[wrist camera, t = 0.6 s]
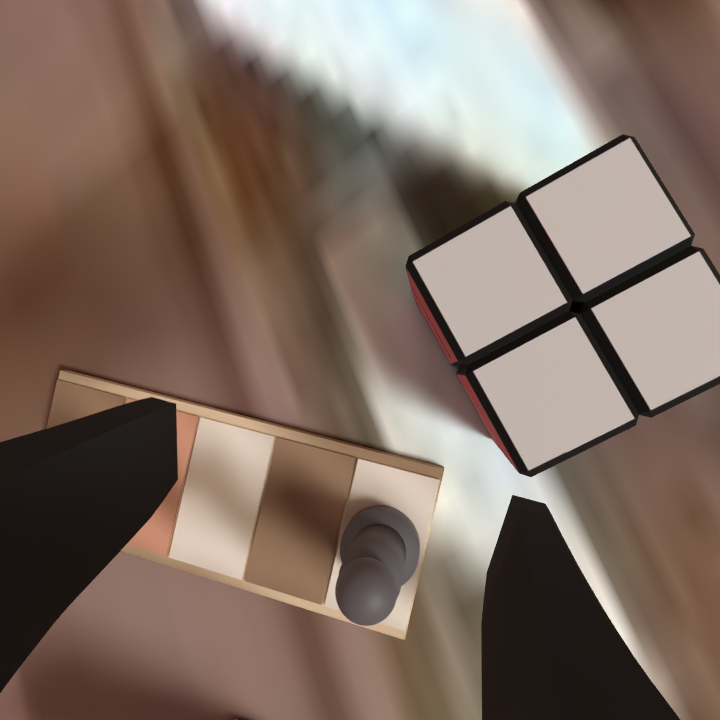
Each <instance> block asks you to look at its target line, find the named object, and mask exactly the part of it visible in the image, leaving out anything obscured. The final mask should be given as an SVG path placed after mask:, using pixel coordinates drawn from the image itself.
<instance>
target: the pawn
mask: <svg viewBox="0 0 720 720" xmlns="http://www.w3.org/2000/svg"><path fill="white" fill-rule="evenodd" d="M419 553H420V540H419V536H418V532H417V530H416V528H415V526H414V524H413V523H412V521H411V520H410V519H409V518H408V517H407V516H406V515H405V514H404V513H402V512H401V511H399V510H397V509H395V508H393V507H389V506H384V505H376V506H370V507H367V508H365V509H363V510H361V511H359V512H358V513H357V514H356V515H355V516H354V517H353V518H352V519H351V520H350V522H349V523H348V525H347V527H346V528H345V530H344V532H343V534H342V537H341V541H340V557H341V561H342V565H341V567H340V570H339V575H338V578H337V582H336V586H335V597H336V601H337V604H338V607H339V609H340V611H341V612H342V614H343V615H344V616H345V617H346V618H347V619H348V620H350V621H351V622H353V623H355V624H358V625H362V626H371V625H375V624H378V623H380V622H381V621H383V620H384V619H386V618H387V617H388V616H389V614H390V613H391V612H392V610H393V608H394V606H395V603H396V600H397V598H398V596H399V593H400V590H401V586H402V585H404V584H405V583H406V582H407V581H408V580H409V579H410V578H411V577H412V575H413V574H414V572H415V570H416V568H417V565H418V561H419Z"/></svg>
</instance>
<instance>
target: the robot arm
mask: <svg viewBox="0 0 720 720" xmlns="http://www.w3.org/2000/svg"><path fill="white" fill-rule="evenodd" d="M177 480H178V457H177V416H176V403H172V402H168V401H165V400H161V399H157V398H153V397H149V398H145V399H141V400H137V401H133V402H130V403H126V404H123V405H120V406H116V407H113V408H110V409H107V410H104V411H101V412H98V413H95V414H91V415H88V416H85V417H82V418H79V419H76V420H73V421H70V422H67V423H63V424H60V425H57V426H54V427H51V428H48V429H45V430H41V431H38V432H34V433H31V434H27V435H24V436H20V437H17V438H14V439H10V440H7V441H3V442H0V693H1V691H2V690H3V689H4V687H5V686H6V684H7V683H8V682H9V680H10V679H11V678H12V676H13V675H14V674H15V672H16V671H17V670H18V668H19V667H20V666H21V664H22V663H23V662H24V661H25V659H26V658H27V657H28V656H29V654H30V653H31V652H32V650H33V649H34V648H35V647H36V645H37V644H38V643H39V641H40V640H41V639H42V638H43V636H44V635H45V634H46V632H47V631H48V630H49V629H50V627H51V626H52V625H53V624H54V622H55V621H56V620H57V619H58V618H59V617H60V615H61V614H62V613H63V612H64V611H65V610H66V609H67V607H68V606H69V605H70V604H71V603H72V602H73V601H74V600H75V599H76V597H77V596H78V595H79V594H80V593H81V592H82V591H83V590H84V589H85V588H86V587H87V586H88V585H89V584H90V583H91V582H92V580H93V579H94V578H95V577H96V576H97V575H98V574H99V573H100V572H101V571H102V570H103V569H104V568H105V567H106V566H107V565H108V563H109V562H110V561H111V560H112V559H113V558H114V557H115V556H116V555H117V554H118V553H119V552H120V551H121V550H122V549H123V548H124V546H125V545H126V544H127V543H128V542H129V541H130V540H131V539H132V538H133V537H134V536H135V535H136V533H137V532H138V531H139V530H140V529H141V528H142V527H143V526H144V525H145V524H146V523H147V521H148V520H149V519H150V518H151V517H152V515H153V514H154V513H155V511H156V510H157V509H158V507H159V506H160V505H161V503H162V502H163V501H164V499H165V498H166V496H167V495H168V493H169V492H170V490H171V489H172V488H173V486H174V485H175V483H176V482H177ZM236 720H237V719H236ZM482 720H680V719H679V717H678V716H677V715H676V713H675V712H674V711H673V709H672V708H671V707H670V705H669V704H668V703H667V701H666V700H665V699H664V697H663V696H662V695H661V693H660V692H659V691H658V689H657V688H656V687H655V686H654V684H653V683H652V682H651V680H650V679H649V677H648V676H647V675H646V673H645V672H644V670H643V669H642V668H641V666H640V665H639V663H638V662H637V660H636V659H635V657H634V656H633V655H632V653H631V651H630V650H629V648H628V647H627V645H626V644H625V642H624V641H623V639H622V638H621V636H620V635H619V633H618V632H617V630H616V628H615V627H614V625H613V624H612V622H611V620H610V619H609V617H608V616H607V614H606V612H605V611H604V609H603V608H602V606H601V604H600V602H599V601H598V599H597V597H596V596H595V594H594V592H593V590H592V589H591V587H590V585H589V584H588V582H587V580H586V579H585V577H584V575H583V573H582V571H581V570H580V568H579V566H578V564H577V562H576V561H575V559H574V557H573V555H572V553H571V551H570V549H569V548H568V546H567V544H566V542H565V540H564V538H563V536H562V534H561V532H560V530H559V528H558V526H557V524H556V522H555V520H554V519H553V517H552V515H551V513H550V511H549V509H548V507H547V506H546V504H544V503H540V502H537V501H533V500H529V499H525V498H522V497H518V496H514V495H512V498H511V501H510V504H509V507H508V510H507V513H506V516H505V519H504V522H503V525H502V528H501V531H500V534H499V538H498V541H497V544H496V547H495V550H494V553H493V556H492V559H491V562H490V565H489V568H488V571H487V576H486V585H485V594H484V604H483V614H482Z"/></svg>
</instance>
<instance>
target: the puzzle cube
mask: <svg viewBox="0 0 720 720" xmlns="http://www.w3.org/2000/svg"><path fill="white" fill-rule="evenodd" d="M694 235H695V234H694V232H693V231H692V229H691V227H690V226H689V224H688V223H687V221H686V219H685V218H684V216H683V214H682V213H681V211H680V210H679V208H678V206H677V205H676V203H675V202H674V200H673V198H672V197H671V195H670V193H669V192H668V190H667V189H666V187H665V185H664V184H663V182H662V181H661V179H660V177H659V176H658V174H657V173H656V171H655V169H654V168H653V166H652V164H651V163H650V161H649V160H648V158H647V156H646V155H645V153H644V152H643V150H642V148H641V147H640V145H639V144H638V142H637V140H636V139H635V137H632V136H627V135H621V136H619V137H617V138H615V139H614V140H612V141H610V142H608V143H607V144H605V145H603V146H601V147H600V148H598V149H596V150H594V151H593V152H591V153H589V154H587V155H586V156H584V157H582V158H580V159H579V160H577V161H575V162H573V163H572V164H570V165H568V166H566V167H565V168H563V169H561V170H559V171H558V172H556V173H554V174H552V175H551V176H549V177H547V178H545V179H543V180H542V181H540V182H538V183H536V184H535V185H533V186H531V187H529V188H528V189H526V190H524V191H522V192H521V193H520V194H519V196H518V198H517V200H516V202H515V204H514V203H510V202H506V201H505V202H503V203H502V204H500V205H498V206H496V207H495V208H493V209H491V210H489V211H488V212H486V213H484V214H482V215H481V216H479V217H477V218H475V219H474V220H472V221H470V222H468V223H466V224H465V225H463V226H461V227H459V228H458V229H456V230H454V231H452V232H451V233H449V234H447V235H445V236H444V237H442V238H440V239H438V240H437V241H435V242H433V243H431V244H430V245H428V246H426V247H424V248H423V249H421V250H419V251H417V252H416V253H414V254H412V255H410V256H409V257H408V261H407V264H406V270H407V274H408V277H409V281H410V285H411V289H412V292H413V295H414V299H415V301H416V303H417V305H418V306H419V308H420V310H421V312H422V314H423V315H424V317H425V319H426V321H427V323H428V324H429V326H430V328H431V330H432V331H433V333H434V335H435V337H436V339H437V340H438V342H439V344H440V346H441V348H442V349H443V351H444V353H445V355H446V357H447V358H448V360H449V362H450V364H451V365H454V366H458V370H457V373H456V375H457V376H458V378H459V380H460V382H461V384H462V385H463V387H464V389H465V391H466V393H467V394H468V396H469V398H470V400H471V402H472V403H473V405H474V407H475V409H476V411H477V412H478V414H479V416H480V418H481V419H482V421H483V423H484V425H485V427H486V428H487V430H488V432H489V434H490V436H491V437H492V439H493V441H494V442H495V443H496V445H497V446H498V447H499V448H500V450H501V451H502V452H503V453H504V455H505V456H506V457H507V459H508V460H509V461H510V462H511V464H512V465H513V466H514V467H515V469H516V470H517V471H518V472H519V473H520V474H523V475H526V476H529V477H532V476H534V475H536V474H538V473H540V472H542V471H544V470H546V469H548V468H550V467H552V466H554V465H556V464H559V463H561V462H563V461H565V460H567V459H569V458H571V457H573V456H575V455H577V454H579V453H581V452H583V451H585V450H587V449H589V448H591V447H593V446H595V445H597V444H599V443H601V442H603V441H605V440H607V439H609V438H611V437H613V436H615V435H617V434H619V433H621V432H623V431H625V430H627V429H629V428H631V427H633V426H635V425H636V423H637V419H638V416H639V415H642V416H647V417H653V416H655V415H658V414H660V413H662V412H664V411H666V410H668V409H670V408H672V407H674V406H676V405H678V404H680V403H682V402H684V401H686V400H688V399H690V398H692V397H694V396H696V395H698V394H700V393H702V392H704V391H706V390H708V389H710V388H712V387H714V386H716V385H718V384H720V275H719V273H718V272H717V270H716V268H715V267H714V265H713V264H712V262H711V260H710V259H709V257H708V255H707V254H706V252H705V251H704V249H702V248H698V247H694V246H691V245H692V241H693V238H694Z"/></svg>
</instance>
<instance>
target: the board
mask: <svg viewBox="0 0 720 720" xmlns="http://www.w3.org/2000/svg"><path fill="white" fill-rule="evenodd" d="M149 397H153V398H157V399H161V400H165V401H168V402H172V403H176V416H177V457H178V480H177V482H176V483H175V485H174V486H173V488H172V489H171V490H170V492H169V493H168V495H167V496H166V498H165V499H164V501H163V502H162V503H161V505H160V506H159V507H158V509H157V510H156V511H155V513H154V514H153V515H152V517H151V518H150V519H149V520H148V521H147V523H146V524H145V525H144V526H143V527H142V528H141V529H140V530H139V531H138V532H137V533H136V535H135V536H134V537H133V538H132V539H131V540H130V541H129V542H128V543H127V544H126V545H125V546H124V548H123V549H122V550H121V551H123V552H126V553H129V554H132V555H136V556H139V557H142V558H145V559H148V560H151V561H155V562H158V563H161V564H164V565H167V566H171V567H174V568H177V569H180V570H183V571H187V572H190V573H193V574H196V575H199V576H202V577H206V578H209V579H212V580H215V581H218V582H222V583H225V584H228V585H231V586H234V587H237V588H241V589H244V590H247V591H250V592H253V593H257V594H260V595H263V596H266V597H269V598H273V599H276V600H279V601H282V602H285V603H288V604H292V605H295V606H298V607H301V608H304V609H308V610H311V611H314V612H317V613H320V614H323V615H327V616H330V617H333V618H336V619H339V620H343V621H346V622H349V623H352V624H355V623H353V622H351V621H350V620H348V619H347V618H346V617H345V616H344V615H343V614H342V612H341V611H340V609H339V607H338V604H337V601H336V597H335V586H336V582H337V578H338V575H339V570H340V567H341V565H342V561H341V557H340V541H341V537H342V534H343V532H344V530H345V528H346V527H347V525H348V523H349V522H350V520H351V519H352V518H353V517H354V516H355V515H356V514H357V513H358V512H359V511H361V510H363V509H365V508H367V507H370V506H376V505H384V506H389V507H393V508H395V509H397V510H399V511H401V512H402V513H404V514H405V515H406V516H407V517H408V518H409V519H410V520H411V521H412V523H413V524H414V526H415V528H416V530H417V532H418V536H419V540H420V553H419V561H418V565H417V568H416V570H415V572H414V574H413V575H412V577H411V578H410V579H409V580H408V581H407V582H406V583H405V584H404V585H402V586H401V590H400V593H399V596H398V598H397V600H396V603H395V606H394V608H393V610H392V612H391V613H390V614H389V616H388V617H387V618H386V619H384V620H383V621H381V622H380V623H378V624H375V625H371V626H362V625H359V626H362V627H365V628H368V629H371V630H374V631H378V632H381V633H384V634H387V635H390V636H394V637H397V638H400V639H403V640H405V636H406V631H407V627H408V623H409V618H410V614H411V610H412V606H413V601H414V597H415V593H416V588H417V584H418V580H419V575H420V571H421V567H422V562H423V558H424V554H425V549H426V545H427V541H428V537H429V532H430V528H431V524H432V519H433V515H434V511H435V506H436V502H437V498H438V493H439V489H440V485H441V481H442V476H443V472H444V467H442V466H438V465H434V464H430V463H427V462H423V461H419V460H415V459H411V458H407V457H403V456H399V455H395V454H392V453H388V452H384V451H380V450H376V449H372V448H368V447H364V446H361V445H357V444H353V443H349V442H345V441H341V440H337V439H333V438H330V437H326V436H322V435H318V434H314V433H310V432H306V431H302V430H299V429H295V428H291V427H287V426H283V425H279V424H275V423H271V422H268V421H264V420H260V419H256V418H252V417H248V416H244V415H240V414H237V413H233V412H229V411H225V410H221V409H217V408H213V407H209V406H205V405H202V404H198V403H194V402H190V401H186V400H182V399H178V398H174V397H171V396H167V395H163V394H159V393H155V392H151V391H147V390H143V389H140V388H136V387H132V386H128V385H124V384H120V383H116V382H112V381H109V380H105V379H101V378H97V377H93V376H89V375H85V374H81V373H78V372H74V371H70V370H60V373H59V377H58V380H57V383H56V387H55V392H54V396H53V400H52V405H51V409H50V414H49V418H48V423H47V427H46V429H48V428H51V427H54V426H57V425H60V424H63V423H67V422H70V421H73V420H76V419H79V418H82V417H85V416H88V415H91V414H95V413H98V412H101V411H104V410H107V409H110V408H113V407H116V406H120V405H123V404H126V403H130V402H133V401H137V400H141V399H145V398H149ZM355 625H358V624H355Z"/></svg>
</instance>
